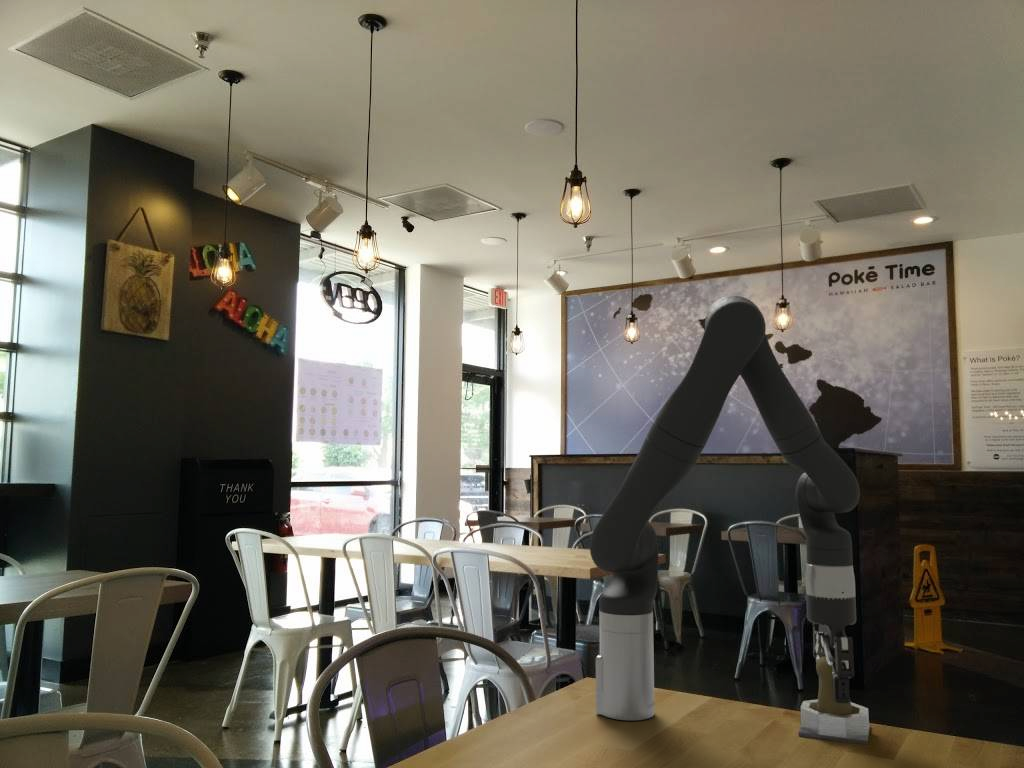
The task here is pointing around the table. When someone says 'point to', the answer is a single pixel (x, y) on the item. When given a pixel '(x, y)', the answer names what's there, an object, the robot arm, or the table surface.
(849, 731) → the duct collar
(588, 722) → the table surface
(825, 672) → the cork
